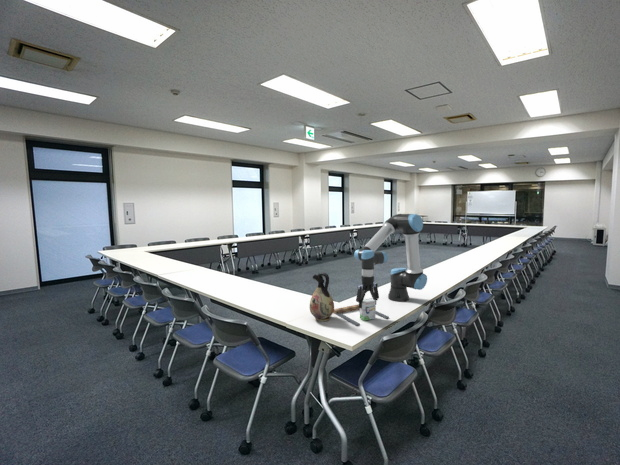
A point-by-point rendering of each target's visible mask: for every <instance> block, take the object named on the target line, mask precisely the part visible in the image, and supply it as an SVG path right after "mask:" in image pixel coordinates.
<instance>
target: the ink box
mask: <svg viewBox="0 0 620 465" xmlns="http://www.w3.org/2000/svg"><path fill="white" fill-rule="evenodd" d="M362 303H363V314H362V313H360V312H359V318H360V320H362V321H364V322H365V321H369V320H374V319H376V314H375V310H376V305H377V300H374V299H373V298H372V297H371V298H370V297H369V298H364V299H363V302H362ZM376 311H377V310H376Z"/></svg>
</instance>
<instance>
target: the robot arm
mask: <svg viewBox="0 0 620 465" xmlns="http://www.w3.org/2000/svg"><path fill="white" fill-rule="evenodd" d="M423 227H424V221H423V218H422V217H421V215H419V214H418V213H417V214H416V213H415V214H414V213H396V214H395V215H392V216H391V217H389V218H388V219H387V220H385V221H384V223H383V224H382V227H380V229H379V230H378V231H377V232H376V233H375V234H374V235H373V236H372V237H371V239H370V240H368V242H367V243H366V244H364V246H363V247H362V248H360V249H356V250H355V251H354V254H353V257H354V259H355V260H356V261H358V262H359V261H360V262H361V285H357V293H356V300H355V301H356V302H357V303H358V304H359V308H360V310H359V314H360V313H362V314H363V303H362V302H363V299H365V297H366V294H367V293H368V292H369V293H370V295H371V298H372V299H374V300H376V301H378V300H379V299H380V295H379V291H378V288H379V287H378V285H379V283H376V282H375V265H380V264H385V263H387V261H388V259H389V258H388V257H389V256H388V253H387V252H385V251H382V250H381V251H377V250H378V249H379V248H380V246H381V245H382V244H383V243H384V242H385V241H386V240H387V239H388V238H389V237H390V235H392V234H394V233H395V232H397V231H401V232H402V235H403V236H404V241H405V252H406V264H407V268H406V267H395V268H392V269H391V270H390V288H389V293H388V295H387V297H388V300H391V301H395V302H407V301H409V300H410V295H409V292H408V288H409V289H414V290H420V291H421V290H423V289H424V288H425V287H426V285H427V283H428V276H427V275H426V274H425V273H424V269H423V268H421V257H420V244H419V234H421V231H422V230H423ZM375 311H377V310H375Z"/></svg>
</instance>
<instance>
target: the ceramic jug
mask: <svg viewBox="0 0 620 465" xmlns="http://www.w3.org/2000/svg"><path fill="white" fill-rule="evenodd" d="M323 277H324V278H325V279H324V278H323ZM312 279H313V280H315V281H316V282H317V284H318V285H317V287H316V289H315V290H314V292H313V294H312V296H311V298H310V301H309V311H310V314H311V315H312V316H313V317H314V319H315V320H316V321H318V322H326V321H327V322H328V321H330V319H331V316H332V315H333V314H334V313H333V312H334V309H335V303H334V300H333V297H332V295H331V294H330V292H329V290H328V288H329V285H330V277H329V274H328V273H327V272H321V273H318V274H314V275H313V276H312Z"/></svg>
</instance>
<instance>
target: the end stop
mask: <svg viewBox="0 0 620 465" xmlns="http://www.w3.org/2000/svg"><path fill="white" fill-rule="evenodd" d="M358 310H359V311H360V308H359V303H358V304H353V305H349V306H343V307H337V308H334V312H333V314H334V315H336V313H338V312H339V313H341V314H345V313H350V312H354V311H358Z"/></svg>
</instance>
